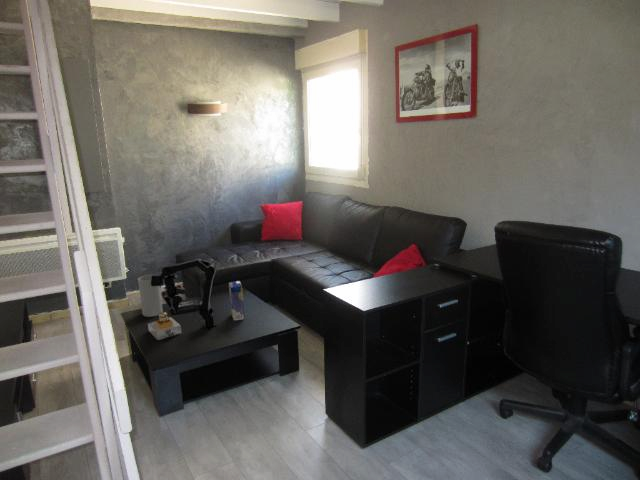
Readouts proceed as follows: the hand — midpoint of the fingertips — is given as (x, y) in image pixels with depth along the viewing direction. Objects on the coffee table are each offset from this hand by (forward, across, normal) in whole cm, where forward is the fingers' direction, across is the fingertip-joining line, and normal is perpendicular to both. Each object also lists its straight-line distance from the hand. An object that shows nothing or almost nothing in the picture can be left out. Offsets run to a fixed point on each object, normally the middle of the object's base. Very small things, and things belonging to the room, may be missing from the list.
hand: (173, 309), depth 271 cm
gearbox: (+12, -3, +7) cm, 14 cm away
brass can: (+7, -2, +7) cm, 10 cm away
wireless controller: (+12, +23, -19) cm, 32 cm away
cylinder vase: (+12, +32, +3) cm, 34 cm away
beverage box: (+12, -12, -36) cm, 40 cm away
